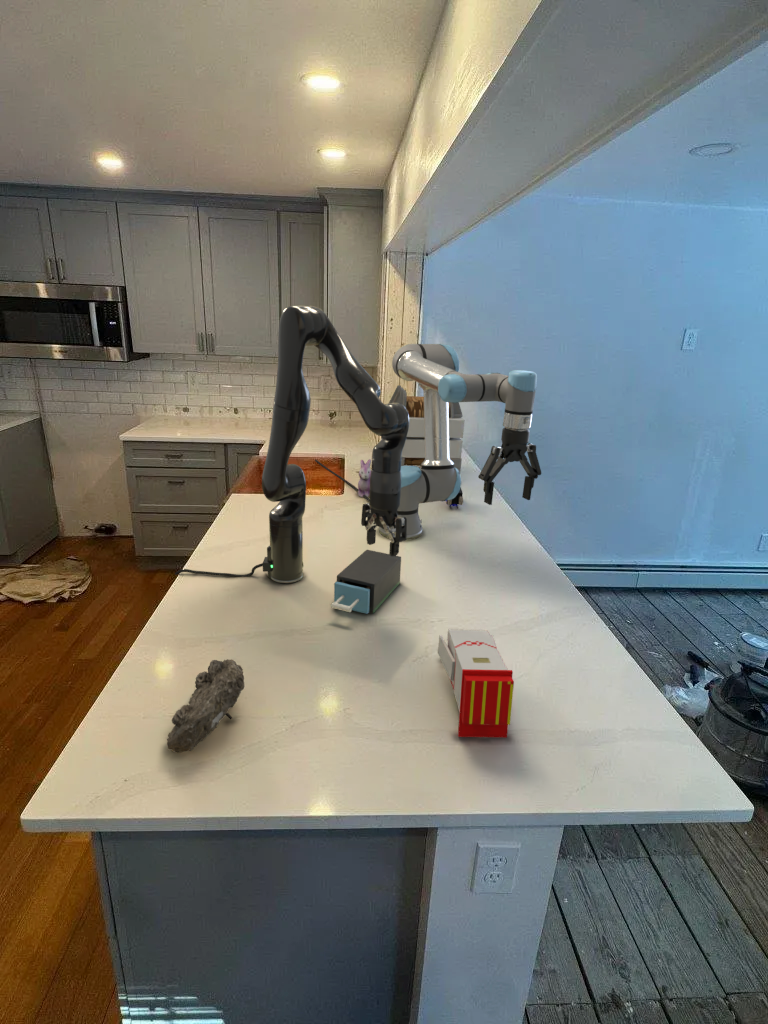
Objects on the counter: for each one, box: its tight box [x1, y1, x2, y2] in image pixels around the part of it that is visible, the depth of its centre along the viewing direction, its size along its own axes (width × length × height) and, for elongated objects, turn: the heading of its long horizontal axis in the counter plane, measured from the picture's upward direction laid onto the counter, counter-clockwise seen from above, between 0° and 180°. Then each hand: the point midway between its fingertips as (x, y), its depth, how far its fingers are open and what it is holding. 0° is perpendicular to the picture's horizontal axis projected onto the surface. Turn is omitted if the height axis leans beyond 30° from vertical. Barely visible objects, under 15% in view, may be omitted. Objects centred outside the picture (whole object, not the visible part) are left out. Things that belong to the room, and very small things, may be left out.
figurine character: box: [445, 487, 464, 510], centre depth 231 cm, size 7×8×15 cm
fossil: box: [166, 658, 245, 754], centre depth 106 cm, size 22×10×15 cm
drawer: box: [330, 580, 371, 615], centre depth 151 cm, size 24×10×6 cm, turn 157°
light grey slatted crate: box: [387, 384, 465, 475], centre depth 268 cm, size 34×33×41 cm
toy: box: [437, 628, 515, 738], centre depth 117 cm, size 12×13×30 cm
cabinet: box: [336, 549, 402, 614], centre depth 156 cm, size 19×11×8 cm, turn 157°
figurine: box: [357, 458, 372, 498], centre depth 238 cm, size 9×10×15 cm
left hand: (382, 549), depth 141 cm, fingers open, 8 cm apart
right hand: (507, 501), depth 164 cm, fingers open, 13 cm apart
